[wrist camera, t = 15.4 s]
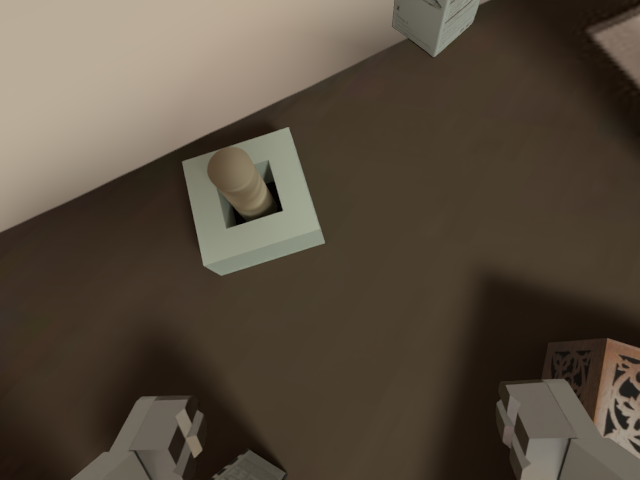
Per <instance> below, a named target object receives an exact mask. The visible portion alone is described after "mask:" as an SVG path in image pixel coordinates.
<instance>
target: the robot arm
mask: <svg viewBox="0 0 640 480" xmlns="http://www.w3.org/2000/svg"><path fill="white" fill-rule="evenodd" d="M498 393H499V395H500V398H501V400H499V401H498V402H497V403H496V411H495V413H496V422H497V427H498V430H499V434H500V436H501V439H502V442H503V443H505V444H506V445H507V446H508V447H509V448H510V449H511V450H510V456H509V460H510V463H511V466H512V468H513V471H514V473H515V476H516V479H517V480H640V459H639V458H638V457H636V456H635V455H633V454H632V453H631V452H629V451H628V450H626V449H625V448H623V447H622V446H620V445H619V444H618V443H616V442H615V441H613V440H612V439H610V438H603V437H602V436H601V434H600V433H599V431H598V429H597V428H596V426H595V425H594V423H593V421H592V420H591V418H590V417H589V415H588V413H587V412H586V410H585V409H584V407H583V405H582V404H581V402H580V401H579V399H578V397H577V396H576V394H575V393H574V391H573V390H572V388H571V386H570V385H569V383H568V382H567V381H566V380H565V379H546V380H540V379H538V380H520V381H502V382H501V383H500V384H499V388H498ZM198 406H199V402H198V400H197V398H196V396H146V397H141V398H140V399H138V400H137V401H136V403H135V405H134V407H133V408H132V410H131V412H130V414H129V416H128V418H127V420H126V421H125V423H124V425H123V427H122V429H121V431H120V432H119V434H118V436H117V438H116V440H115V442H114V444H113V445H112V447H111V449H110V451H109V452H103V453H102V454H101V455H100V456H99V457H97V458H96V459H95V460H94V461H93V462H91V463H90V464H89V465H88V466H87V467H85V468H84V469H83V470H82V471H81V472H79V473H78V474H77V475H76V476H75V477H73V478H72V479H71V480H193V478H194V475H195V472H196V469H197V464H196V461H195V457H196V456H197V455H198V454H199V453H200V452H201V451H202V450H203V447H204V444H205V441H206V432H207V425H206V419H205V417H204V414H202V413H201V412H200V411H198V410H197V409H198Z"/></svg>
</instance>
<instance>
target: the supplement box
mask: <svg viewBox="0 0 640 480" xmlns="http://www.w3.org/2000/svg"><path fill="white" fill-rule="evenodd" d="M479 3H480V0H395V1H394V12H393V22H392V27H393V28H394V29H396V30H398V31H399V32H401V33H402V34H403V35H405V36H406V37H408V38H409V39H410V40H412V41H413V42H414V43H416V44H417V45H418V46H420V47H421V48H422V49H424V50H425V51H426V52H427V53H429V54H430V55H431V56H432V57H435V56H436V55H437V54H439V53H440V52H441V51H442V50H443V49H444V48H445V47H446V46H448V45H449V44H450V43H451V42H452V41H453V40H454V39H455V38H457V37H458V36H459V35H460V34H461V33H462V32H463V31H464V30H465V29H467V28H468V27H469V26H470V25H471V24H472V23H473V20H474V17H475V14H476V11H477V9H478V6H479Z"/></svg>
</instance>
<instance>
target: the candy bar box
mask: <svg viewBox="0 0 640 480" xmlns="http://www.w3.org/2000/svg"><path fill="white" fill-rule="evenodd" d="M286 477H287V473H286V472H284V471H283V470H281V469H280V468H278V467H276V466H274V465H272V464H270V463H269V462H267V461H266V460H264V459H263V458H261V457H260V456H258V455H257V454H255V453H254V452H252V451H251V450H249V449H246V450H245V451H244V452H243V453H241V454H240V455H239V456H237V457H236V458H235V459H234V460H232V461H231V462H230V463H229V464H228V465H227V466H225V467H224V468H223V469H221V470H220V471H219V472H217V473H216V474H215V475H214V476H213V477H212V478H210V479H209V480H285V479H286Z"/></svg>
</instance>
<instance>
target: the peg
mask: <svg viewBox="0 0 640 480" xmlns="http://www.w3.org/2000/svg"><path fill="white" fill-rule="evenodd" d="M207 173H208V177H209V179H210V180H211V182H212V183H213V184H214V185H215V186H216V187H217V188H218V190H219V191H220V192H221V193H222V194H223V195H224V196H225V198H226V199H227V200H228V201H229V202H230V203H231V204H232V205H233V207H234V208H235V209H236V210H237V211H238V212H239V213H240V215H241V216H242V217H243V218H244V219H245V220H246V221H247V222H250V221H253V220H256V219H259V218H262V217H265V216H269V215H272V214H275V213H278V206H277V203H276V202H275V200H274V198H273V196H272V195H271V193H270V191H269V189H268V188H267V186H266V184H265V183H264V181H263V179H262V177H261V176H260V174H259V172H258V170H257V169H256V167H255V165H254V164H253V162H252V160H251V158H250V157H249V155H248V154H247V153H246V152H245V151H244V150H243V149H241V148H238V147H226V148H223V149H221V150H219V151H218V152H216V153H215V154H214V155H213V156H212V157H211V159H210V161H209V163H208V167H207Z"/></svg>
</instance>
